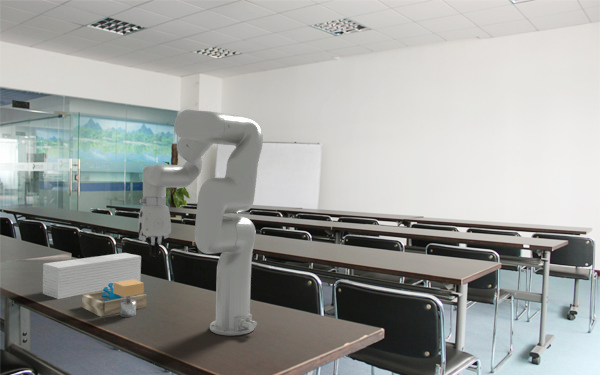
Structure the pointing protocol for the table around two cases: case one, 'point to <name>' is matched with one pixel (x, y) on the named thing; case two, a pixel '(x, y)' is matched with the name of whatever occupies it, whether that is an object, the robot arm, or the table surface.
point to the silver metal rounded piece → (128, 307)
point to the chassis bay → (108, 303)
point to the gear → (111, 293)
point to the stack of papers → (89, 274)
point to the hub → (128, 288)
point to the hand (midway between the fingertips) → (154, 256)
